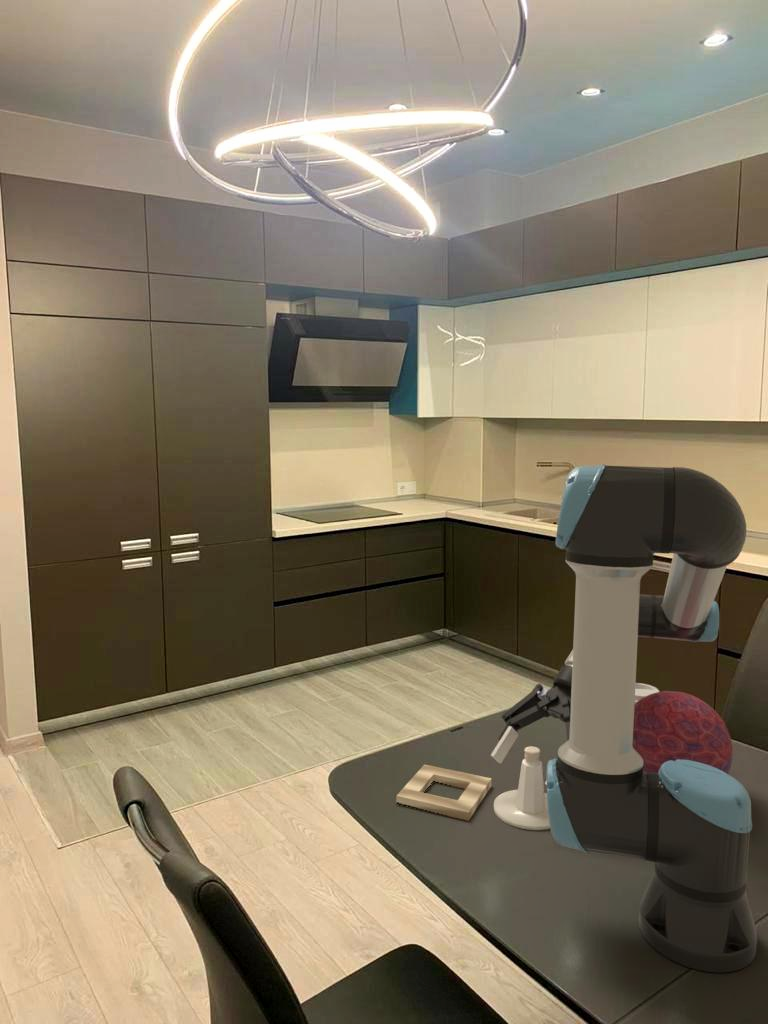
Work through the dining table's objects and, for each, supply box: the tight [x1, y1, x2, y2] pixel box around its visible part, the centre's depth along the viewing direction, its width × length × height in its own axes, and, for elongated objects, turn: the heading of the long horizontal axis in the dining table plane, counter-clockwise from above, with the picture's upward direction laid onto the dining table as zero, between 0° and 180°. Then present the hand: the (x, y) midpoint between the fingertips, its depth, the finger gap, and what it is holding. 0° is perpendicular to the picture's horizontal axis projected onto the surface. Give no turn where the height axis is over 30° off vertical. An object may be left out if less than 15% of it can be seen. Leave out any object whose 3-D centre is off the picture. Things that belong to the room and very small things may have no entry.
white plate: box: [493, 789, 551, 831], centre depth 138 cm, size 13×13×1 cm
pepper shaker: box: [516, 745, 545, 814], centre depth 138 cm, size 5×5×11 cm
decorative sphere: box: [633, 690, 734, 775], centre depth 143 cm, size 20×20×20 cm
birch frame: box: [395, 764, 493, 822], centre depth 144 cm, size 14×14×2 cm
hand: (521, 773), depth 136 cm, fingers open, 13 cm apart
